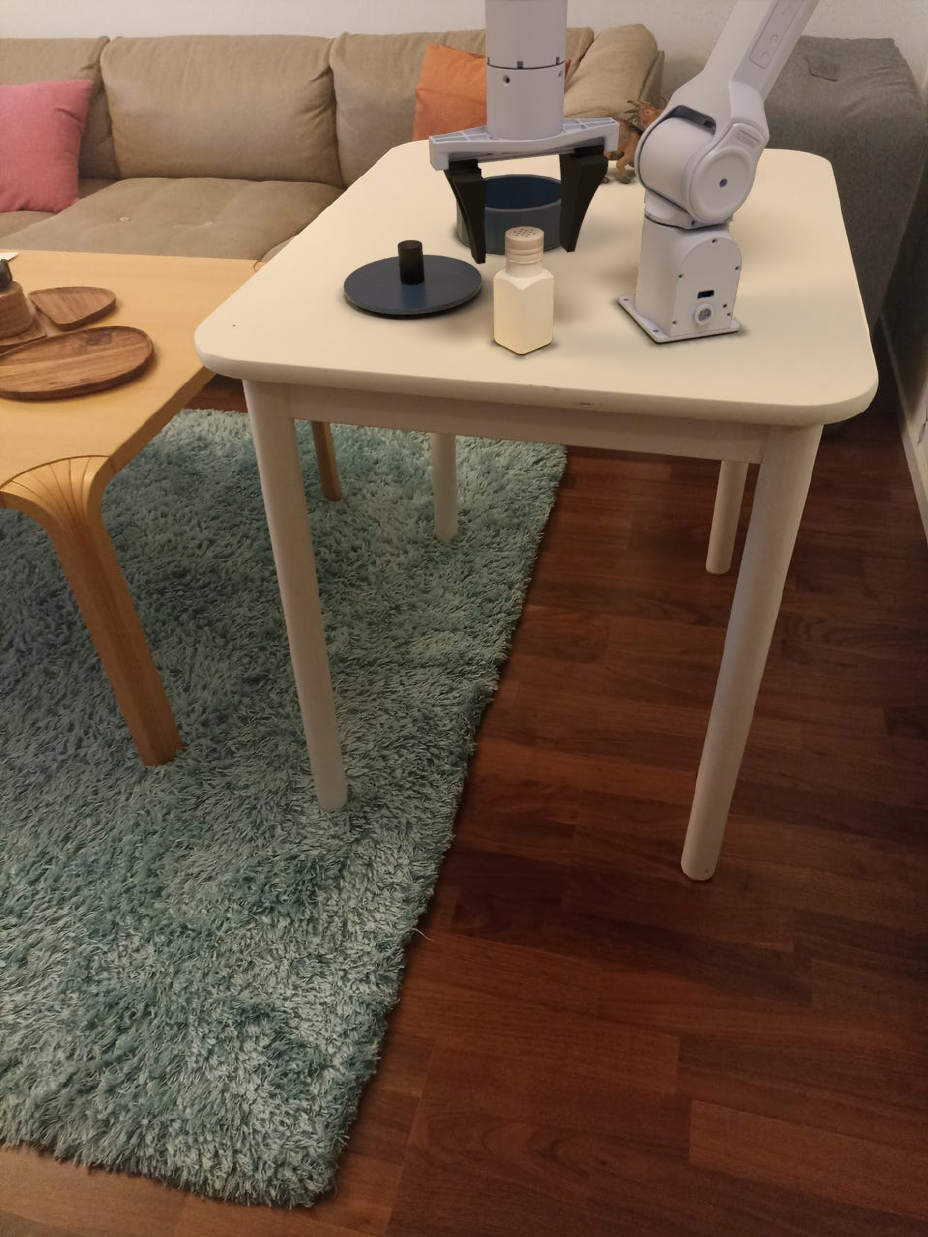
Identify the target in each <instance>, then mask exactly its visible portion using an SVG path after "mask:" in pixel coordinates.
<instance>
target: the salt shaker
mask: <svg viewBox="0 0 928 1237" xmlns="http://www.w3.org/2000/svg"><path fill="white" fill-rule="evenodd" d="M543 241H544V232H543V231H542V230H540V229H539V228H534V227H516V228H512V229H510V230H508V231H506V233H505V254H504V258H505V268H503V269H501V270H499V271H498V272H497V273H496V274H495V275H494V277H493V335H494V336H493V337H494V340H495V342H496V343H497V344H499V345H501V346H503V347H505V348H506V349H509V350H510V351H513V352H514V353H517V354H521V355H523V354H527V353H530V352H532V351H534V350H537V349H539V348H542V347H544V346H546V345H549V344H550V343H552V341H553V335H554V334H553V332H554V307H555V306H554V304H555V303H554V302H555V281H556V280H555V277H554V275H553V273H551V272H550V271H549V270H547V269H546V268H544V267H543V258H544V251H543Z"/></svg>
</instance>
